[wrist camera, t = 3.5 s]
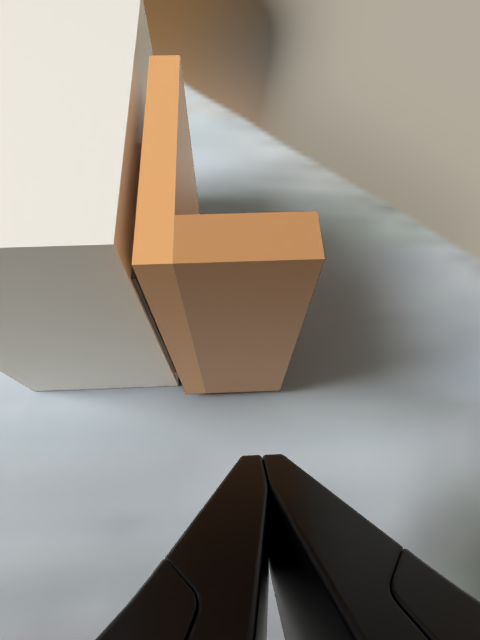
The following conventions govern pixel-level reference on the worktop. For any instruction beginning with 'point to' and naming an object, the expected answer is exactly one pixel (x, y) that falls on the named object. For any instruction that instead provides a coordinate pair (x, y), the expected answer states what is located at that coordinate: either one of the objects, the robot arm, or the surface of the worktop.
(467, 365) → the worktop surface
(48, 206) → the block
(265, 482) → the robot arm
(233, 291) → the orange l-shaped block
